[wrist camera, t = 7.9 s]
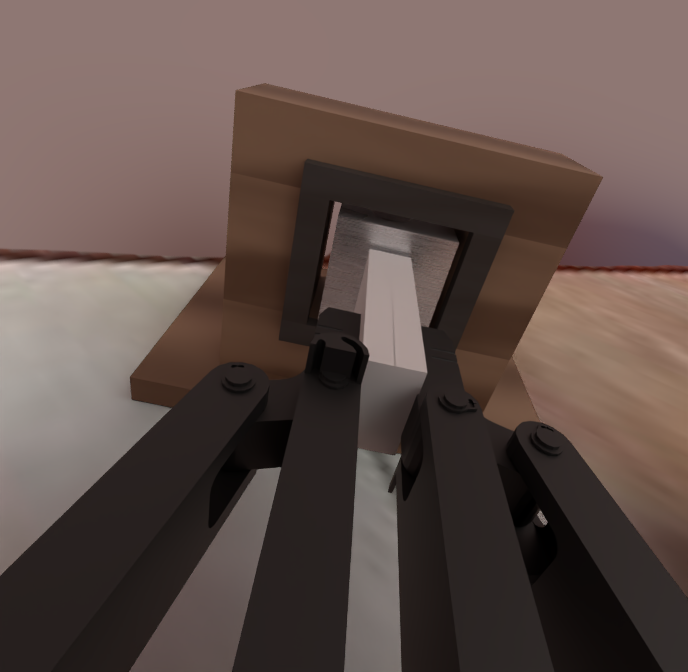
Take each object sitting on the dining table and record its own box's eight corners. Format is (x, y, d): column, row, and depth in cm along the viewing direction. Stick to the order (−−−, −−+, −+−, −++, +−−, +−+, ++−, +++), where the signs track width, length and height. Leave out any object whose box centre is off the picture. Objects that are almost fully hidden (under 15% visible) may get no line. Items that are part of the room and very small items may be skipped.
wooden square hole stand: (545, 483, 19) (731, 216, 13) (131, 399, 18) (104, 69, 12) (483, 319, 31) (564, 138, 24) (230, 264, 30) (243, 62, 24)
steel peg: (422, 342, 17) (459, 242, 15) (317, 320, 17) (338, 215, 15) (402, 193, 36) (417, 138, 33) (352, 182, 36) (363, 126, 33)
